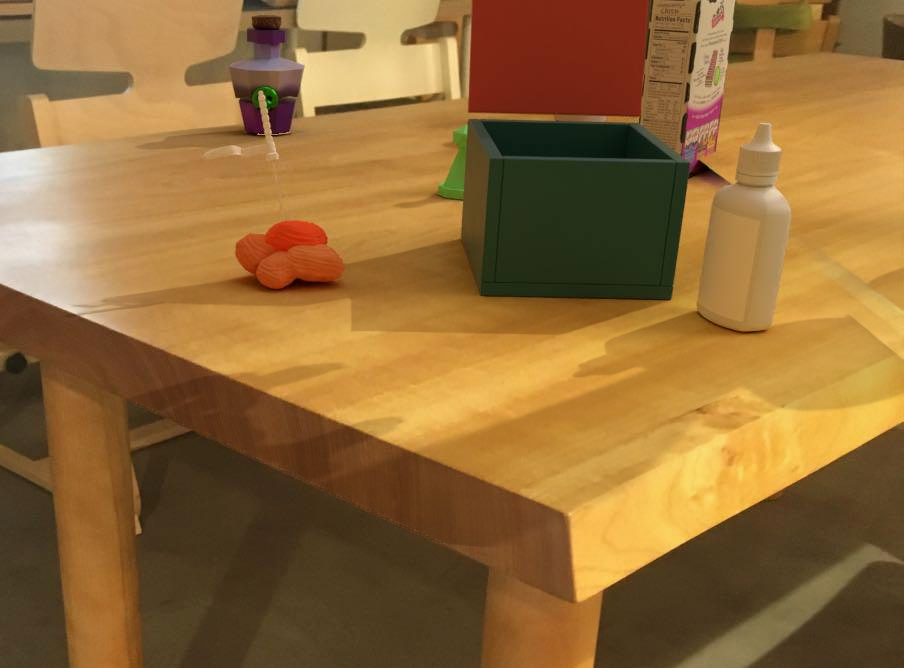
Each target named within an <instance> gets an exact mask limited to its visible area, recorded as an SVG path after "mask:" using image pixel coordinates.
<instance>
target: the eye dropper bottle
mask: <svg viewBox="0 0 904 668" xmlns="http://www.w3.org/2000/svg"><path fill="white" fill-rule="evenodd" d="M772 136H773V135H772V123H769V122H759V123H758V125H757V128H756V130H755V134H754V136H753V138H752V139H751V141H750V142H748V143H745V144H742V145H741V146H739V152H738V159H737V165H736V171H735V178H734V180H735V181H736V182H735V183H733V184H728V185H725V186H723V187H721V188H720V189H719V190H717V191H716V193H715V194H714V196H713V198H712V199H713V200H712V203H711V208H710V213H709V220H708V226H707V232H706V238H705V239H706V241H705V246H704V252H703V258H702V263H701V264H702V265H701V273H700V278H699V284H698V291H697V298H696V309H697V311H698V313H699V314H700V316H702V317H703V318H705V319H706V320H707V321H710V322H711V323H713V324H715V325H718V326H720V327H723V328H726V329H729V330H733V331H736V332H742V333H743V332H745V333H748V332H758V331H759V332H760V331H766V330H769V329H771V327H772V325H773V322H774V317H775V311H776V307H777V300H778V295H779V290H780V286H781V285H780V284H781V280H782V274H783V268H784V263H785V256H786V251H787V245H788V239H789V234H790V227H791V221H792V208H791V206H790V204H789V202H788V200H787V198H786V197H785V196H784V195H783V193H782V192H781V191H779V190H778V189H777V188H776V186H775V184H777V182H778V176H779V172H780V171H779V170H780V165H781V159H782V154H783V153H782V152H783V150H782V148H781V147H780V146H778V145H776V144H775V143H774V142H773V138H772Z"/></svg>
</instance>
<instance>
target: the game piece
mask: <svg viewBox="0 0 904 668" xmlns="http://www.w3.org/2000/svg"><path fill="white" fill-rule="evenodd" d="M467 128H468V124H464V125H462V126H460V127H459V128H457V129H455V130H453V131H452V142H453V143H454V144H455V146H457V147H458V150H457V152H456V155H455V157H454V158H453V162H452V163H451V166H450V169H449V171H448V174H447V176H446V178H445V180H444V181H442V182H441V183H440V184H439V185H437V196H441V197H443V198H445V199H452V200H460V201H461V200H462V201H463V194H464V178H465V161H466V144H467Z"/></svg>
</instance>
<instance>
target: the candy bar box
mask: <svg viewBox="0 0 904 668" xmlns="http://www.w3.org/2000/svg"><path fill="white" fill-rule="evenodd" d="M736 5H737V0H651V4H650V13H649V24H648V30H647V31H648V32H647V38H646V39H647V41H646V48H645V57H644V73H643V88H642V104H641V116H639V117H638V123H639V124H640V125H642V126H643V127H644V128H646V129H647V130H648V131H650V132H651V133H652V134H654V135H655V136H656V137H657V138H659V139H660V140H661V141H663V142H664V143H665V144H667V145H668V146H669V147H670V148H672V149H673V150H674V151H676V152H677V153H678V154H680V155H681V156H682V157H684V158H685V159H686V160H687V161H689V162H690V163H691V164H690V171H689V178H691V177H693V176H694V175H696V174H698V173H700V172H702V171H705V170H706V169H708V168H709V165H707V164H706V163H705V162H703V161H702V160H700V159H703V158H705V157H707V156H709V155H712V154H713V153H715V152H717V144H718V138H719V137H718V136H719V130H720V122H721V117H722V115H721V114H722V107H723V101H724V94H725V86H726V77H727V72H728V65H729V57H730V56H729V55H730V50H731V42H732V35H733V34H732V33H733V28H734V20H735V12H736Z"/></svg>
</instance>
